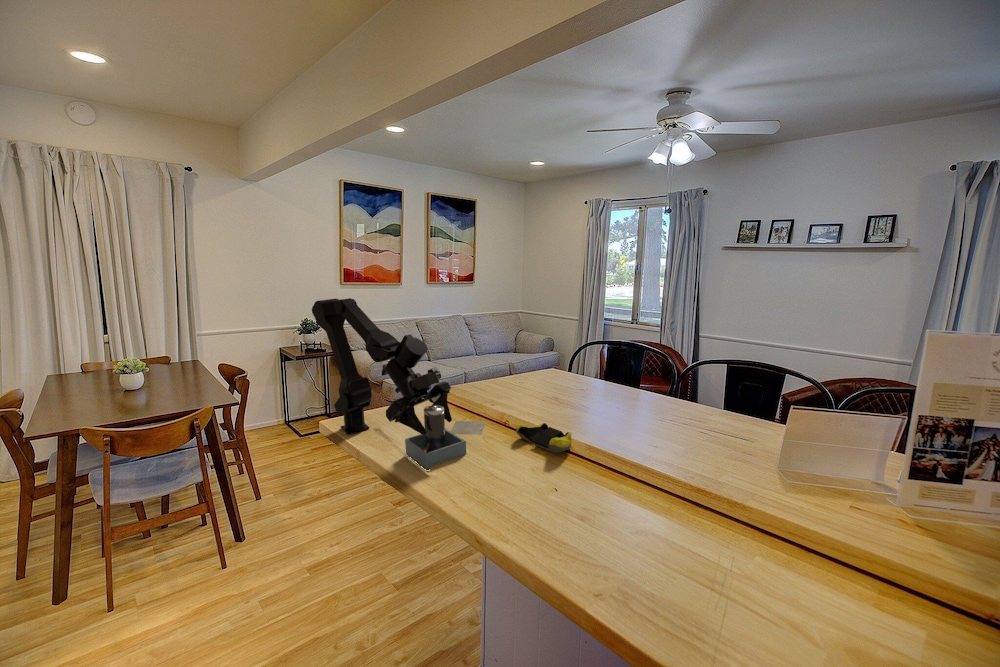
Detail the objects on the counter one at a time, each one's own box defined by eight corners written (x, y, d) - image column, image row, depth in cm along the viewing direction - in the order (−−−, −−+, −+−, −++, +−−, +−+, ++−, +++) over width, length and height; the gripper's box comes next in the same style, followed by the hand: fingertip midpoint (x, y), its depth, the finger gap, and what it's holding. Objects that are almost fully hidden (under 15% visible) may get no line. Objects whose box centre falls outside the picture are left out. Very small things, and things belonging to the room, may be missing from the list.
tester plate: (449, 436, 123) (449, 433, 123) (456, 424, 132) (455, 421, 131) (481, 437, 122) (481, 434, 122) (485, 424, 131) (485, 421, 131)
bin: (406, 454, 113) (404, 438, 112) (444, 442, 119) (443, 427, 119) (426, 471, 104) (425, 454, 103) (466, 457, 111) (465, 441, 110)
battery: (426, 450, 114) (424, 403, 112) (445, 448, 114) (443, 402, 112) (425, 458, 109) (423, 410, 107) (445, 457, 110) (444, 409, 107)
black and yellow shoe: (555, 463, 107) (580, 450, 113) (555, 442, 106) (581, 430, 112) (512, 444, 118) (538, 433, 124) (512, 424, 117) (537, 414, 123)
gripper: (390, 368, 102) (427, 423, 98) (444, 352, 117) (478, 398, 113) (370, 395, 108) (404, 447, 104) (424, 376, 123) (456, 421, 119)
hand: (438, 427), depth 109 cm, fingers open, 9 cm apart
